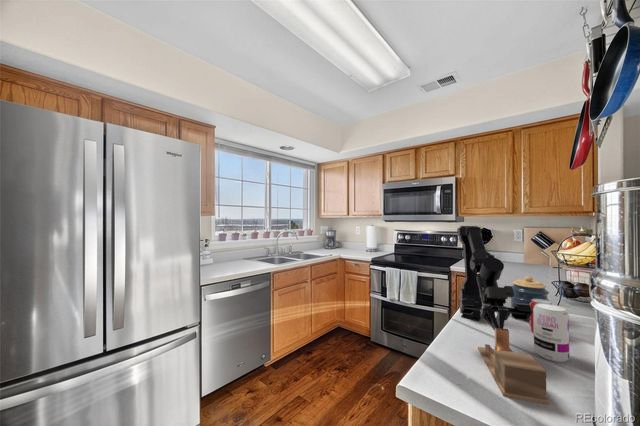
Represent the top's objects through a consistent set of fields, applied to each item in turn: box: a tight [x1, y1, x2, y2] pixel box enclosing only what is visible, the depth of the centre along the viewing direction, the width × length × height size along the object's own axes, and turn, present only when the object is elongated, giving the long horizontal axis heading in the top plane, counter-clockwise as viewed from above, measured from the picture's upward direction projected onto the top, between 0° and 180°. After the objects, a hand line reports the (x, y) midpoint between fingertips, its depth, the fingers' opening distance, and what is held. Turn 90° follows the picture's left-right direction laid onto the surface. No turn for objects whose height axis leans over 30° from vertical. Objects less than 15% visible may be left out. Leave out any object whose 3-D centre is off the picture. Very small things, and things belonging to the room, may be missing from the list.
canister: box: [510, 275, 550, 322], centre depth 111 cm, size 13×13×18 cm
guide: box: [477, 344, 550, 405], centre depth 71 cm, size 23×9×7 cm, turn 161°
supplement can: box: [533, 303, 570, 363], centre depth 80 cm, size 8×8×15 cm
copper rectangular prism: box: [494, 328, 510, 351], centre depth 69 cm, size 13×3×9 cm, turn 161°
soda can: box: [529, 299, 553, 333], centre depth 95 cm, size 7×7×12 cm
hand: (500, 336), depth 76 cm, fingers closed, pressing on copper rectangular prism
